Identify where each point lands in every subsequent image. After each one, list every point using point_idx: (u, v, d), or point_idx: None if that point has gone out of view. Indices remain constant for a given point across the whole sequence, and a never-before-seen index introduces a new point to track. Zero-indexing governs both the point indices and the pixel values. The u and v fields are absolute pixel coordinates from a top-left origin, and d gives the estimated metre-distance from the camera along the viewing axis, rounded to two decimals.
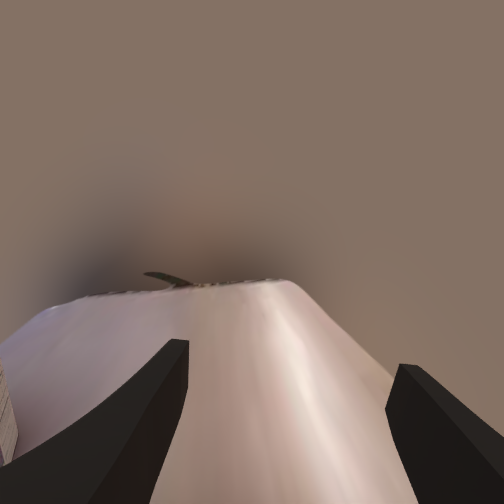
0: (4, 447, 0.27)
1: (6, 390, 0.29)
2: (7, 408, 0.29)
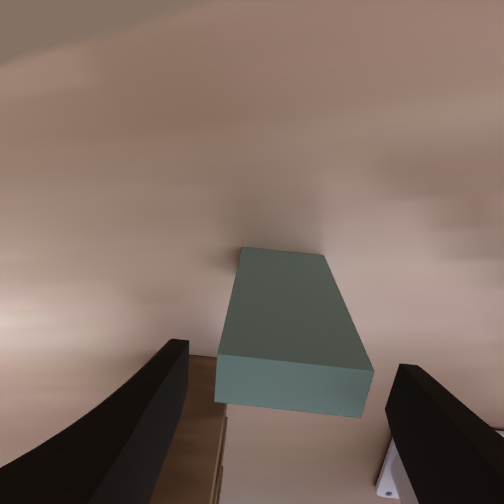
0: None
1: None
2: None
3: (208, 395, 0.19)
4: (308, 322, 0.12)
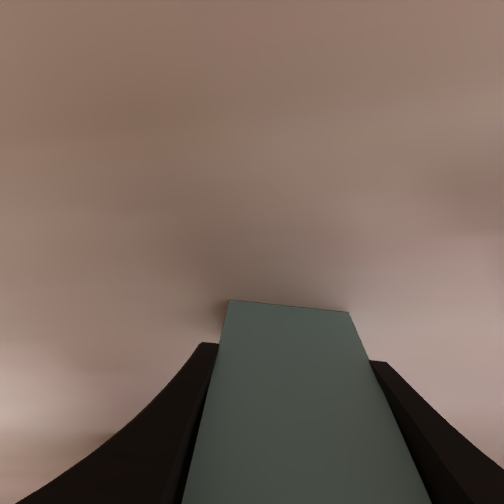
0: None
1: None
2: None
3: None
4: None
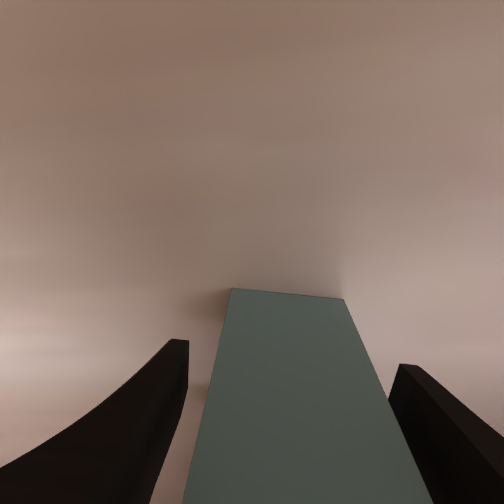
0: None
1: None
2: None
3: None
4: (336, 459, 0.07)
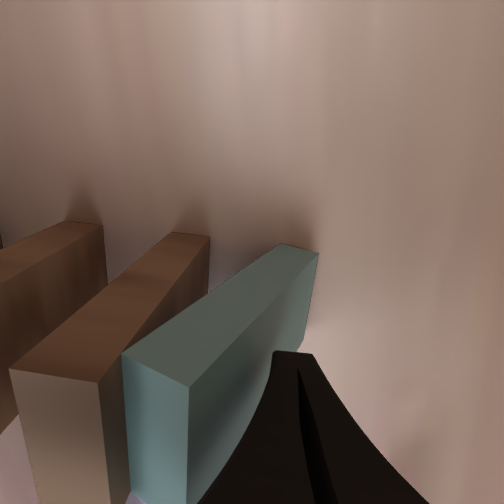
0: None
1: None
2: None
3: None
4: (234, 418, 0.10)
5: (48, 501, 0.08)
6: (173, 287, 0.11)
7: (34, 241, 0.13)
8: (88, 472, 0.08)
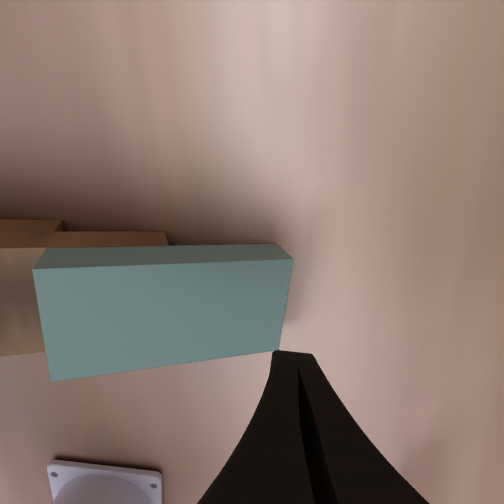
0: None
1: None
2: None
3: None
4: (112, 337, 0.13)
5: None
6: (29, 250, 0.13)
7: None
8: None
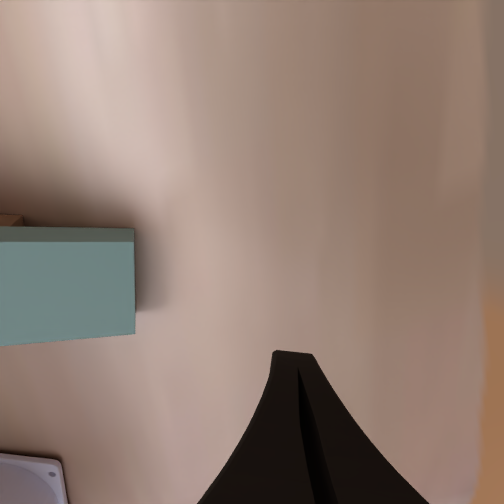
0: None
1: None
2: None
3: None
4: None
5: None
6: None
7: None
8: None
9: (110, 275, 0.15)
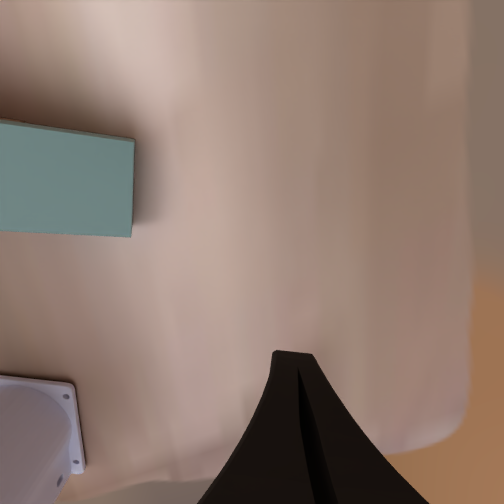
0: None
1: None
2: None
3: None
4: None
5: None
6: None
7: None
8: None
9: (111, 173, 0.16)
